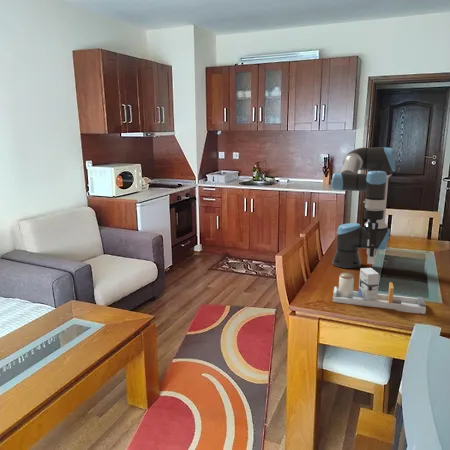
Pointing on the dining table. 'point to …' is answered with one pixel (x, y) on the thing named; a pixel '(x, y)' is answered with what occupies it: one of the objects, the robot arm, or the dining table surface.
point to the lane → (385, 302)
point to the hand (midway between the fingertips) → (370, 258)
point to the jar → (346, 285)
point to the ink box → (368, 284)
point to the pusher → (390, 295)
